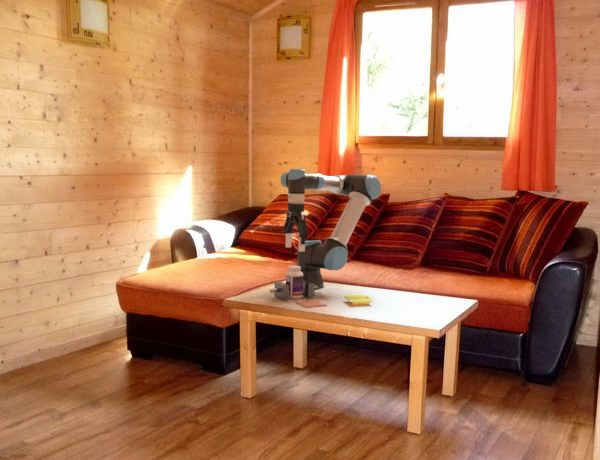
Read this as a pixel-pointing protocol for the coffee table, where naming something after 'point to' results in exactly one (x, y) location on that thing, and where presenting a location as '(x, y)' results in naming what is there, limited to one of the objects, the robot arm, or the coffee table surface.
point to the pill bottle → (295, 282)
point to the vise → (283, 290)
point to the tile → (311, 303)
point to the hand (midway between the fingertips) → (294, 249)
